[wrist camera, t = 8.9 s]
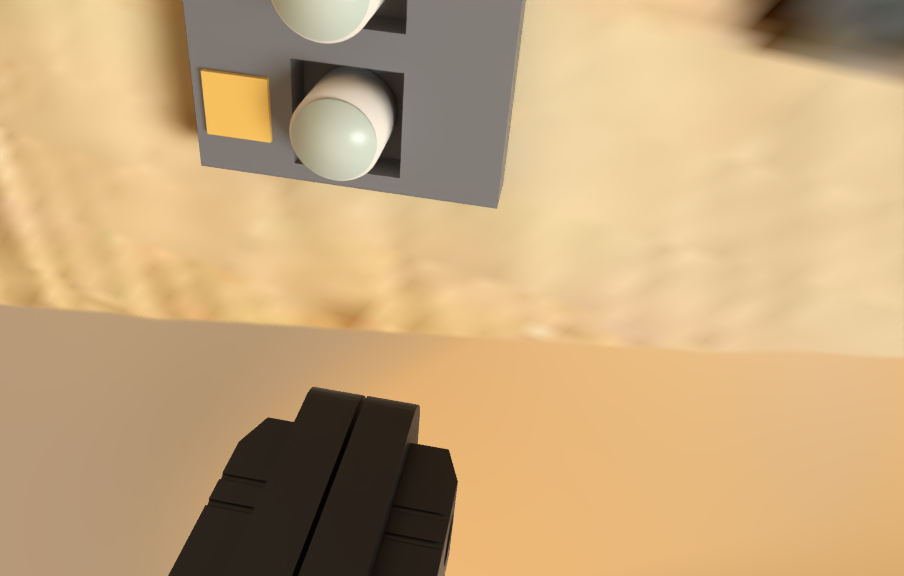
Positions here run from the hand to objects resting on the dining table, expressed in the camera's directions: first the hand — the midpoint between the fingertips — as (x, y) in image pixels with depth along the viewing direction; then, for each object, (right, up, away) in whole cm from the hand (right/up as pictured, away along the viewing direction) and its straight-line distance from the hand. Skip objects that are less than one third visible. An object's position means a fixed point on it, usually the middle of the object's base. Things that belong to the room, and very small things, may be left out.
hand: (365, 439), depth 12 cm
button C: (-4, +12, +34) cm, 36 cm away
